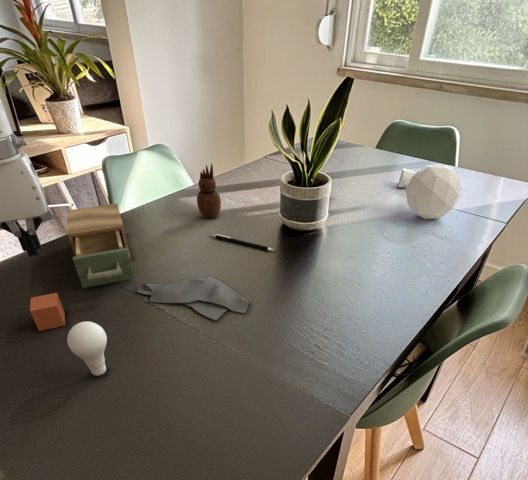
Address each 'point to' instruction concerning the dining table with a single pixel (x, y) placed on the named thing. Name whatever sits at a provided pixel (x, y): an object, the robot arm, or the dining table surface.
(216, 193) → the wooden figurine
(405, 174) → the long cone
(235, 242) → the pen
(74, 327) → the lightbulb
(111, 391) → the dining table surface
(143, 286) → the cloth
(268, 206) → the dining table surface
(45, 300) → the block
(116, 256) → the drawer
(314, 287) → the dining table surface
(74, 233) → the cabinet
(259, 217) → the dining table surface
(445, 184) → the geometric sphere
